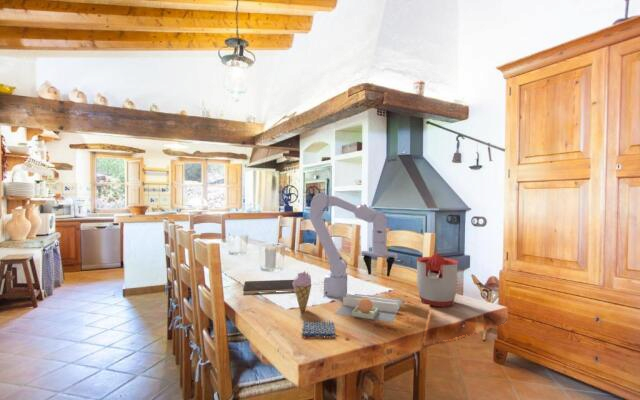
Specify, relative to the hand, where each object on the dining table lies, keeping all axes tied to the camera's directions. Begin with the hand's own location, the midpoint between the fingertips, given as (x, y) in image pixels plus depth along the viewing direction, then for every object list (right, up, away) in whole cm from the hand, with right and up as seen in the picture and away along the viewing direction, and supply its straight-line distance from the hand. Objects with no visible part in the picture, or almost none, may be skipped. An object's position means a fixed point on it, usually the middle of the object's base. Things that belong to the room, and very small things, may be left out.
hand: (378, 274), depth 132 cm
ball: (-8, -6, -20) cm, 23 cm away
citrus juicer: (+22, -10, -5) cm, 25 cm away
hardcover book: (-47, -10, +15) cm, 50 cm away
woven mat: (-25, -10, -33) cm, 43 cm away
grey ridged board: (-5, -10, -12) cm, 16 cm away
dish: (-8, -9, -20) cm, 24 cm away
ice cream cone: (-31, -10, -17) cm, 36 cm away
